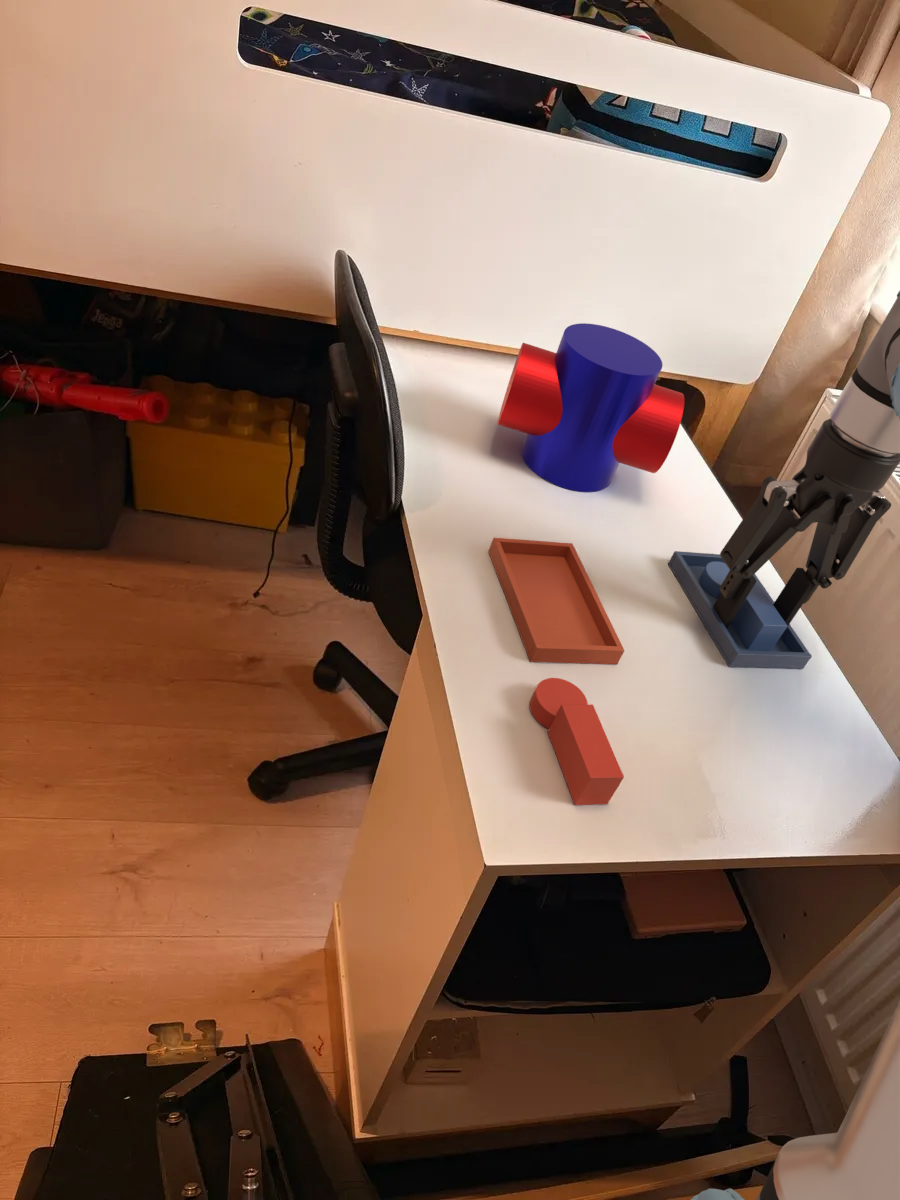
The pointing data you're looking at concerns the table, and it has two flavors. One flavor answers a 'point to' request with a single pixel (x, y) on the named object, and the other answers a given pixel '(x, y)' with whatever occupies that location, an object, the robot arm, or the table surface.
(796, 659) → the blue tray
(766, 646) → the blue spoon
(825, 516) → the robot arm
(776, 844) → the table surface
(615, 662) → the red tray
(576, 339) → the blue red crossed cylinders
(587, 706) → the red spoon
